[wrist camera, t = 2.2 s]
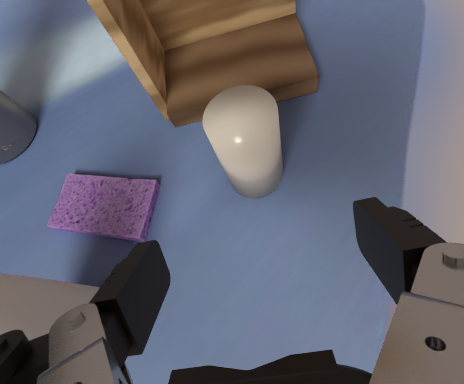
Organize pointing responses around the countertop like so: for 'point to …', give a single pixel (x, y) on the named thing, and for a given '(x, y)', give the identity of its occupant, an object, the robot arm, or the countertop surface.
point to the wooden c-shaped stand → (209, 49)
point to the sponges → (105, 206)
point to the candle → (246, 139)
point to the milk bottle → (37, 303)
